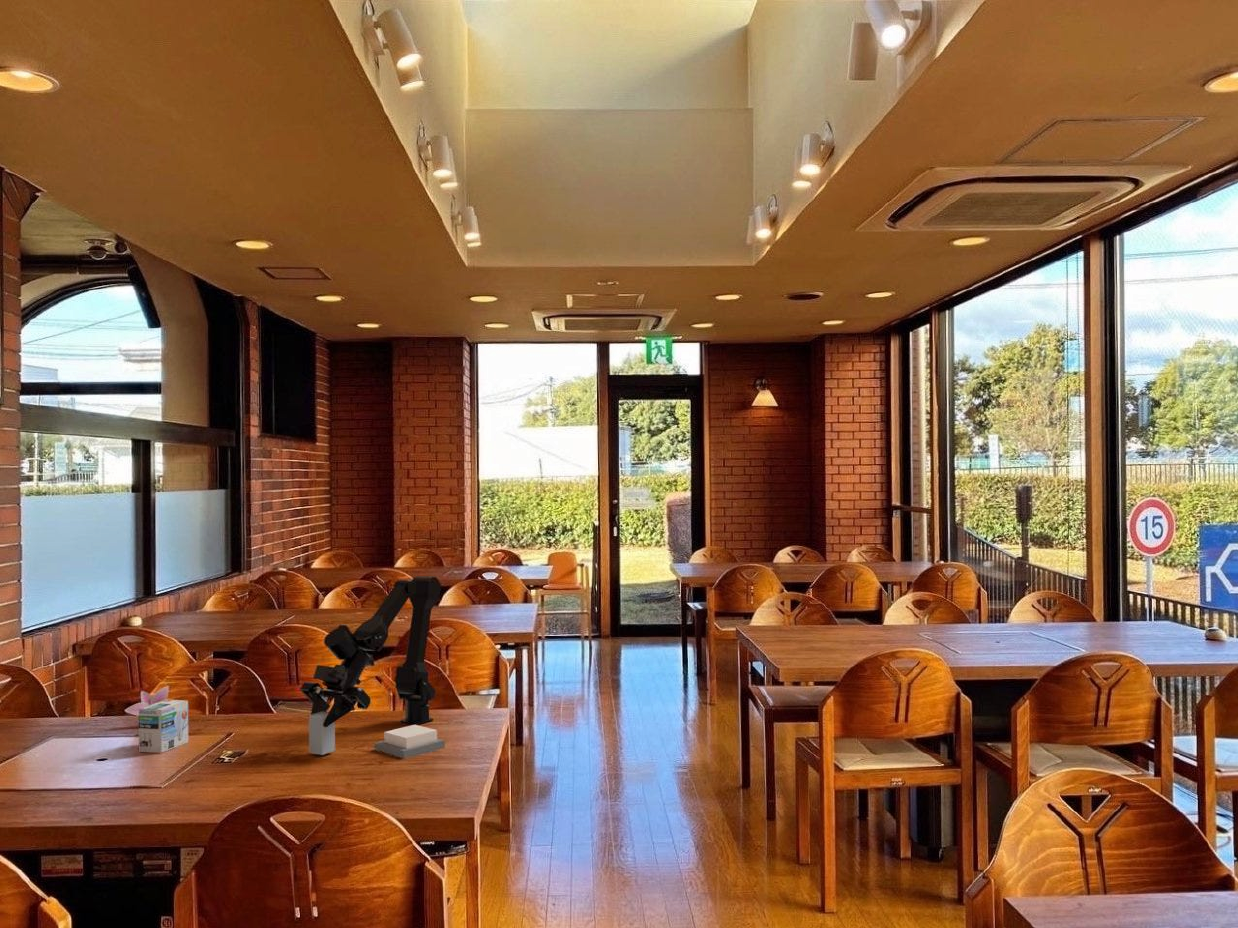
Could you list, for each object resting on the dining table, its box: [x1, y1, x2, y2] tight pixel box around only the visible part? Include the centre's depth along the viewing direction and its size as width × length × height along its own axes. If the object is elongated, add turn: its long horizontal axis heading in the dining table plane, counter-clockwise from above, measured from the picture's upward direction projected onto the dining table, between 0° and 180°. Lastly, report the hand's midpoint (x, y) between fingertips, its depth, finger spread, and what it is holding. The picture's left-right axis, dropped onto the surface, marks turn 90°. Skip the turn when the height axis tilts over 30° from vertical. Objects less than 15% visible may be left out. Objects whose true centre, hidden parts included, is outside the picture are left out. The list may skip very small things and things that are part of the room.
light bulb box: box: [138, 699, 189, 754], centre depth 239 cm, size 11×7×11 cm, turn 168°
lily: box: [124, 685, 170, 717], centre depth 263 cm, size 12×12×10 cm
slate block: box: [308, 711, 336, 756], centre depth 230 cm, size 4×4×9 cm
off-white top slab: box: [383, 724, 438, 748], centre depth 234 cm, size 9×9×2 cm
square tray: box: [373, 737, 446, 760], centre depth 233 cm, size 12×12×2 cm
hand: (317, 725), depth 229 cm, fingers closed on slate block, 4 cm apart
